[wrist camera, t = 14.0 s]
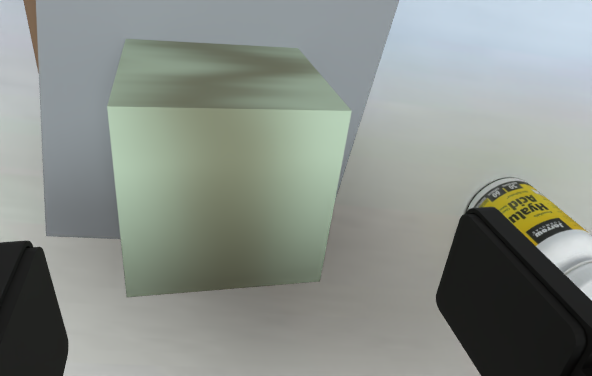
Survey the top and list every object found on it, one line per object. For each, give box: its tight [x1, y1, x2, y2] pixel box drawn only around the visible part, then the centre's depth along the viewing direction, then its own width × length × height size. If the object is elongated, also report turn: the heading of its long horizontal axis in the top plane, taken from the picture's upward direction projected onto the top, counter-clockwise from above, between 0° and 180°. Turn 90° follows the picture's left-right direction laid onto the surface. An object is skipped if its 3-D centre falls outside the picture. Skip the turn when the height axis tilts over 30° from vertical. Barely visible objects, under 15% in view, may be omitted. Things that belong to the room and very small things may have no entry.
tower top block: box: [36, 0, 399, 239], centre depth 19 cm, size 12×12×4 cm
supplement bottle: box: [467, 178, 592, 300], centre depth 30 cm, size 5×5×10 cm
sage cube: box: [107, 39, 352, 297], centre depth 15 cm, size 6×6×6 cm
